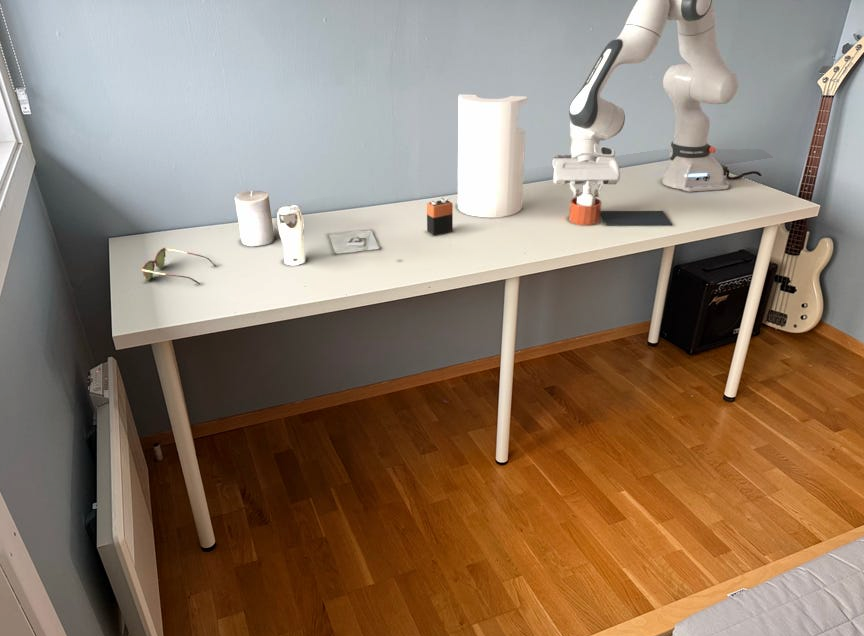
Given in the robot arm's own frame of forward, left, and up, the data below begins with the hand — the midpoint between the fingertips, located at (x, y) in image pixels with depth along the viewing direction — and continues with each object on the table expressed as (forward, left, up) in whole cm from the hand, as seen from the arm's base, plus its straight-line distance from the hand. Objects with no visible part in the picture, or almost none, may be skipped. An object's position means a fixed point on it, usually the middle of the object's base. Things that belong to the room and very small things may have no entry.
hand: (587, 196), depth 220 cm
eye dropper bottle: (0, -1, -8) cm, 8 cm away
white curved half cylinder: (+30, -9, -8) cm, 32 cm away
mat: (-16, -2, -8) cm, 18 cm away
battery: (+45, +9, -8) cm, 47 cm away
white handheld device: (+85, +31, -8) cm, 91 cm away
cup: (0, -1, -8) cm, 8 cm away
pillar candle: (+99, +16, -8) cm, 101 cm away
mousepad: (+67, +21, -8) cm, 71 cm away
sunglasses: (+114, +40, -8) cm, 121 cm away
